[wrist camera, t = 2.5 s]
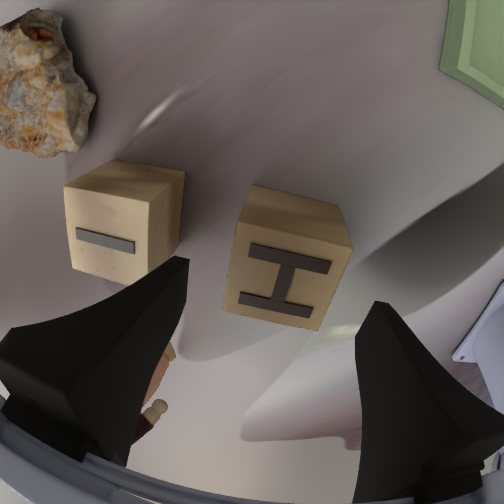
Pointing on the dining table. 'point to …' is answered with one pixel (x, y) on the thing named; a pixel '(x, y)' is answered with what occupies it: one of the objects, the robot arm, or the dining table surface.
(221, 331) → the dining table surface
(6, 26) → the rock
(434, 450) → the robot arm
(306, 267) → the wooden h block
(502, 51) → the tray
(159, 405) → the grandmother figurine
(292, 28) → the dining table surface
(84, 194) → the wooden i block
